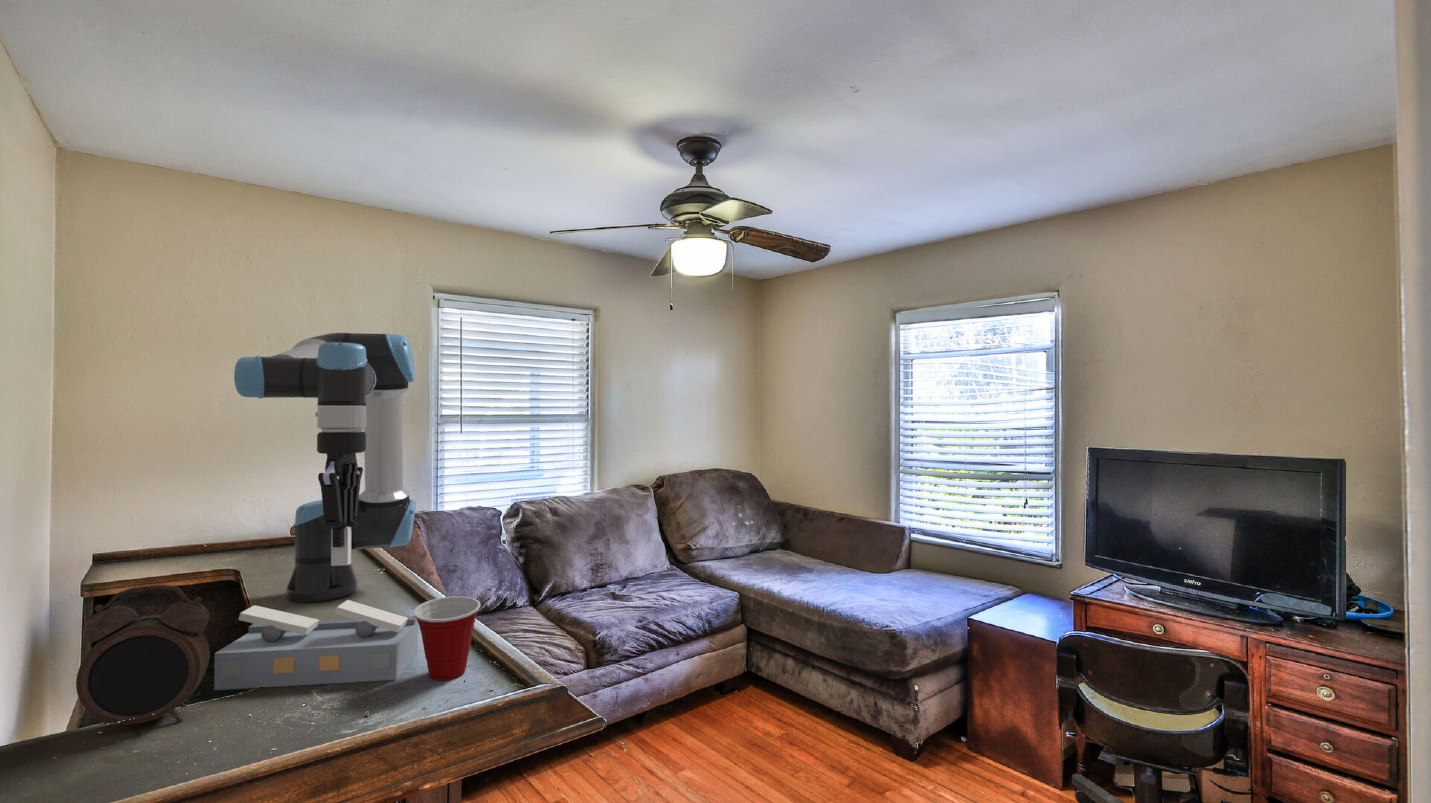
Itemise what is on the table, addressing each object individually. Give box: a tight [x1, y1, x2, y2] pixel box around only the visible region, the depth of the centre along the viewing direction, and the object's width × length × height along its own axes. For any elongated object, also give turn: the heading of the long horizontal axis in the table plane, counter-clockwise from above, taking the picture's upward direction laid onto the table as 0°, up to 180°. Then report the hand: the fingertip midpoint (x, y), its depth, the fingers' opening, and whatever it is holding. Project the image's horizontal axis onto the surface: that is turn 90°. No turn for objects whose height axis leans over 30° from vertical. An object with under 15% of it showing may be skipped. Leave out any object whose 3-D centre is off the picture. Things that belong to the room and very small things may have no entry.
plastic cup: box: [413, 595, 481, 681], centre depth 114 cm, size 11×11×12 cm
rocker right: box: [334, 599, 408, 637], centre depth 117 cm, size 4×11×4 cm, turn 99°
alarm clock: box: [75, 584, 211, 733], centre depth 96 cm, size 15×7×20 cm, turn 117°
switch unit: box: [213, 615, 419, 691], centre depth 115 cm, size 12×28×7 cm, turn 99°
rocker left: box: [238, 604, 320, 642], centre depth 114 cm, size 4×11×4 cm, turn 99°
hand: (341, 564), depth 116 cm, fingers closed
